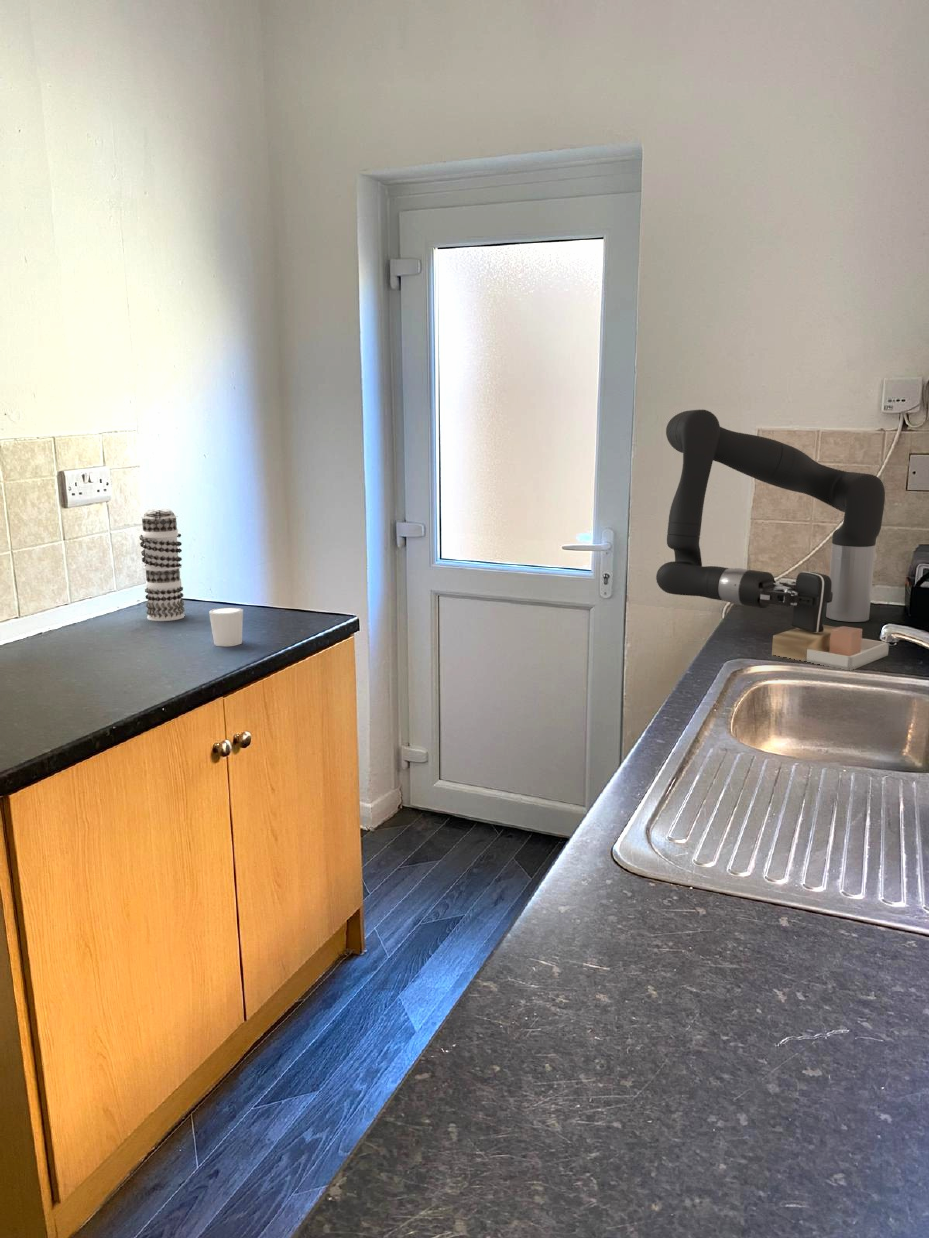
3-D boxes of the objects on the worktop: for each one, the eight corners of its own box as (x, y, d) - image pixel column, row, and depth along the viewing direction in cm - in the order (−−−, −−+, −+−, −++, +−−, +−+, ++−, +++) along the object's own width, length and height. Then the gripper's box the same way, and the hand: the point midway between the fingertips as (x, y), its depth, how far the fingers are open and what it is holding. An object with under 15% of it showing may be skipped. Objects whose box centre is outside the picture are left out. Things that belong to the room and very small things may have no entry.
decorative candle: (147, 614, 228) (140, 508, 222) (188, 612, 229) (181, 508, 224) (142, 622, 219) (134, 512, 214) (184, 620, 221) (177, 511, 215)
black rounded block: (829, 633, 188) (836, 575, 185) (814, 634, 186) (820, 576, 184) (804, 625, 194) (811, 569, 192) (789, 626, 193) (795, 570, 190)
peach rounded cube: (842, 625, 188) (862, 629, 185) (840, 650, 189) (860, 654, 186) (831, 629, 185) (851, 633, 182) (829, 655, 186) (849, 658, 183)
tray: (845, 647, 194) (846, 635, 193) (888, 655, 188) (889, 642, 187) (806, 662, 183) (807, 649, 182) (850, 670, 177) (851, 657, 176)
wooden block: (810, 641, 199) (811, 623, 198) (843, 647, 194) (844, 628, 193) (771, 655, 188) (773, 635, 187) (805, 661, 183) (807, 641, 182)
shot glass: (247, 645, 197) (245, 612, 196) (213, 648, 195) (211, 614, 193) (242, 638, 203) (240, 605, 202) (209, 641, 201) (207, 608, 199)
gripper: (729, 573, 193) (808, 585, 181) (765, 565, 203) (843, 576, 191) (726, 610, 195) (805, 623, 183) (762, 600, 204) (839, 612, 193)
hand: (824, 599), depth 187 cm, fingers closed on black rounded block, 5 cm apart
